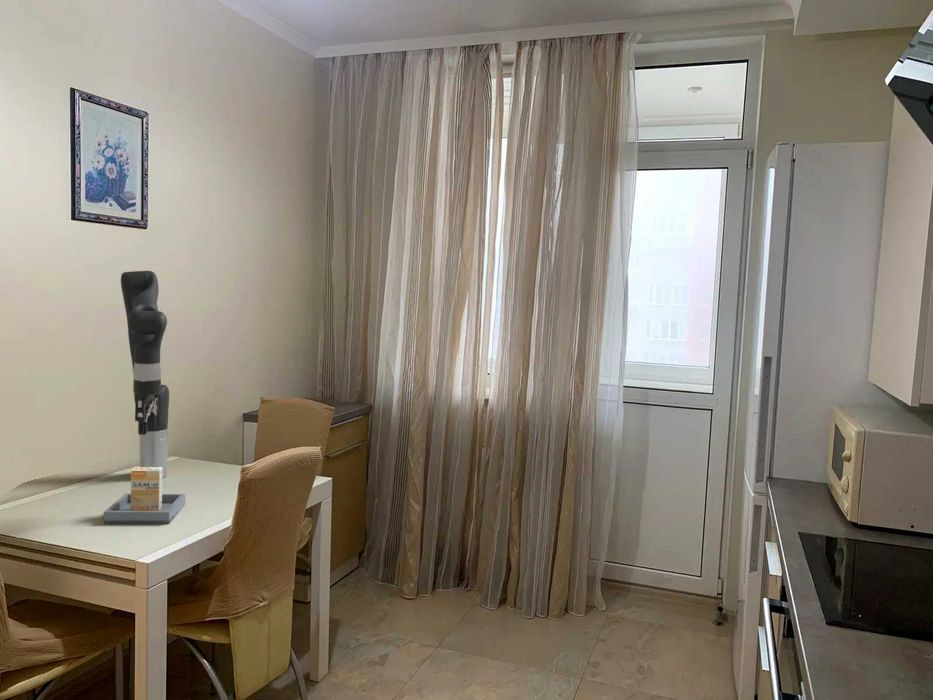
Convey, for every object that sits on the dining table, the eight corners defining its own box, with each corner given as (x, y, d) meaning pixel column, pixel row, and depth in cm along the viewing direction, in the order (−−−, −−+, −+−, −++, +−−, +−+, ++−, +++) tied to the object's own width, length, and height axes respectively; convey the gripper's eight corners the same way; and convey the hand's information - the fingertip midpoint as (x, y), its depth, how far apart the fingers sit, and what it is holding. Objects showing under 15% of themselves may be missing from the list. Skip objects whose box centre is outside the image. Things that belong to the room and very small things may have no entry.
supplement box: (129, 513, 212) (130, 470, 210) (133, 508, 216) (133, 466, 215) (159, 512, 213) (159, 470, 212) (162, 507, 218) (162, 466, 217)
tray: (125, 504, 223) (125, 493, 222) (185, 504, 225) (185, 493, 225) (104, 523, 205) (104, 512, 204) (169, 523, 207) (169, 512, 207)
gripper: (141, 374, 217) (141, 426, 219) (125, 380, 203) (125, 436, 205) (167, 374, 218) (166, 426, 220) (153, 381, 204) (152, 436, 206)
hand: (147, 431), depth 212 cm, fingers open, 8 cm apart
